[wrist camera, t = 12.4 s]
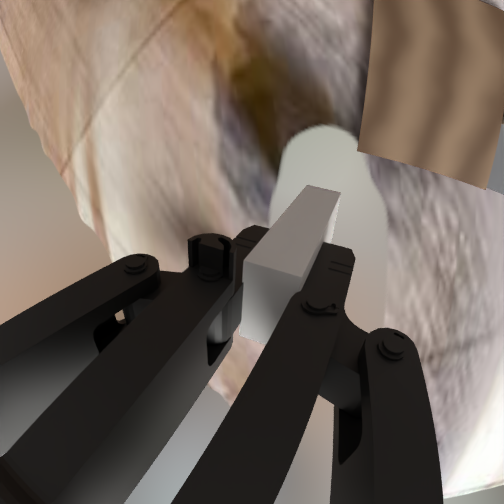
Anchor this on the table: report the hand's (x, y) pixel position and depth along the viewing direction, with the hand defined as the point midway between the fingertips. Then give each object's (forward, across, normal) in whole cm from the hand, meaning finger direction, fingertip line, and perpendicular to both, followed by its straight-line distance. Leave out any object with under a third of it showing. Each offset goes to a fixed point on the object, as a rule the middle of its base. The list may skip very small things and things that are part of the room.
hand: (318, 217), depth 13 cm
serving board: (+24, +8, +10) cm, 28 cm away
